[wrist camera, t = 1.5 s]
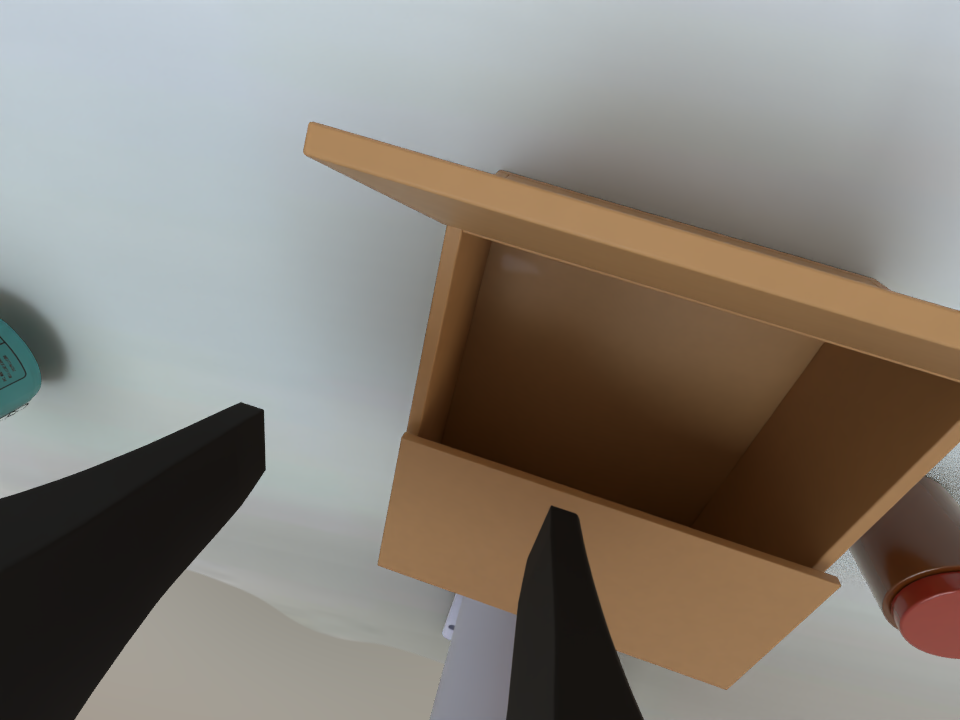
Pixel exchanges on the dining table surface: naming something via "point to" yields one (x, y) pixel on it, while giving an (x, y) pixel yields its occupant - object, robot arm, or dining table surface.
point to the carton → (649, 449)
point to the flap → (651, 252)
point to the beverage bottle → (16, 371)
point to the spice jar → (917, 567)
